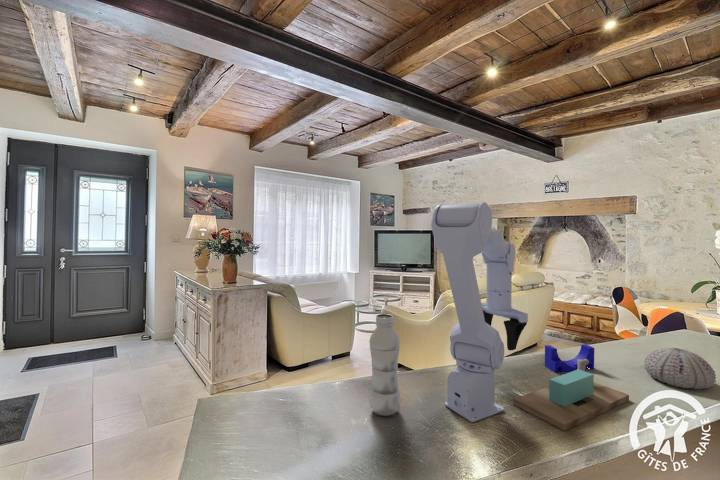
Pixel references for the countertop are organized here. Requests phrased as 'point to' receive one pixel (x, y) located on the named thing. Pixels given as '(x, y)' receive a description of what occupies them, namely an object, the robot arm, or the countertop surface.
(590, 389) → the teal rectangular block
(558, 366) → the blue concave arch block
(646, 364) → the sea urchin shell
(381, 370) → the plastic bottle
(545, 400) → the slotted wooden board
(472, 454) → the countertop surface
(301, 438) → the countertop surface
